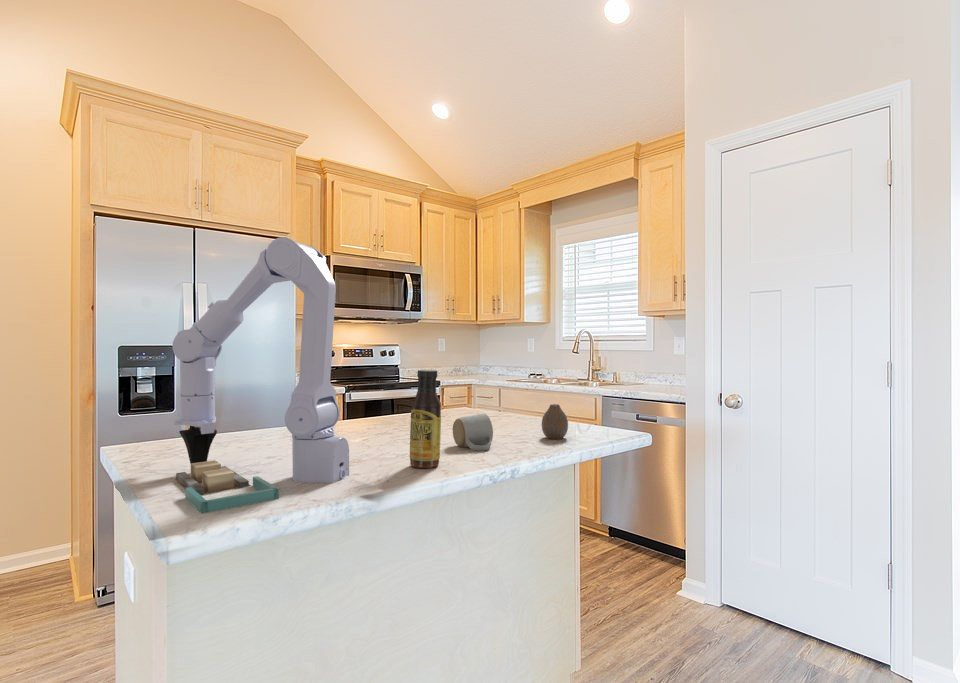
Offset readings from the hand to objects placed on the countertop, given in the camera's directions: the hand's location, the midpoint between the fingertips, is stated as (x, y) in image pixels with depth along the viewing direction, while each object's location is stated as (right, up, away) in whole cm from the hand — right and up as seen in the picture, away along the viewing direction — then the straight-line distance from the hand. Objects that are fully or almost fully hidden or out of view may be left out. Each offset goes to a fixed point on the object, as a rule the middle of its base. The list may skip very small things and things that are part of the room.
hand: (198, 467), depth 101 cm
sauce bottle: (+41, -2, +10) cm, 43 cm away
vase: (+72, -2, +41) cm, 83 cm away
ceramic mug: (+52, -2, +30) cm, 60 cm away
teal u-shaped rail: (+14, -2, -16) cm, 22 cm away
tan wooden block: (+9, -1, -10) cm, 13 cm away
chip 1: (+3, -1, -4) cm, 5 cm away
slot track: (+6, -2, -7) cm, 10 cm away
